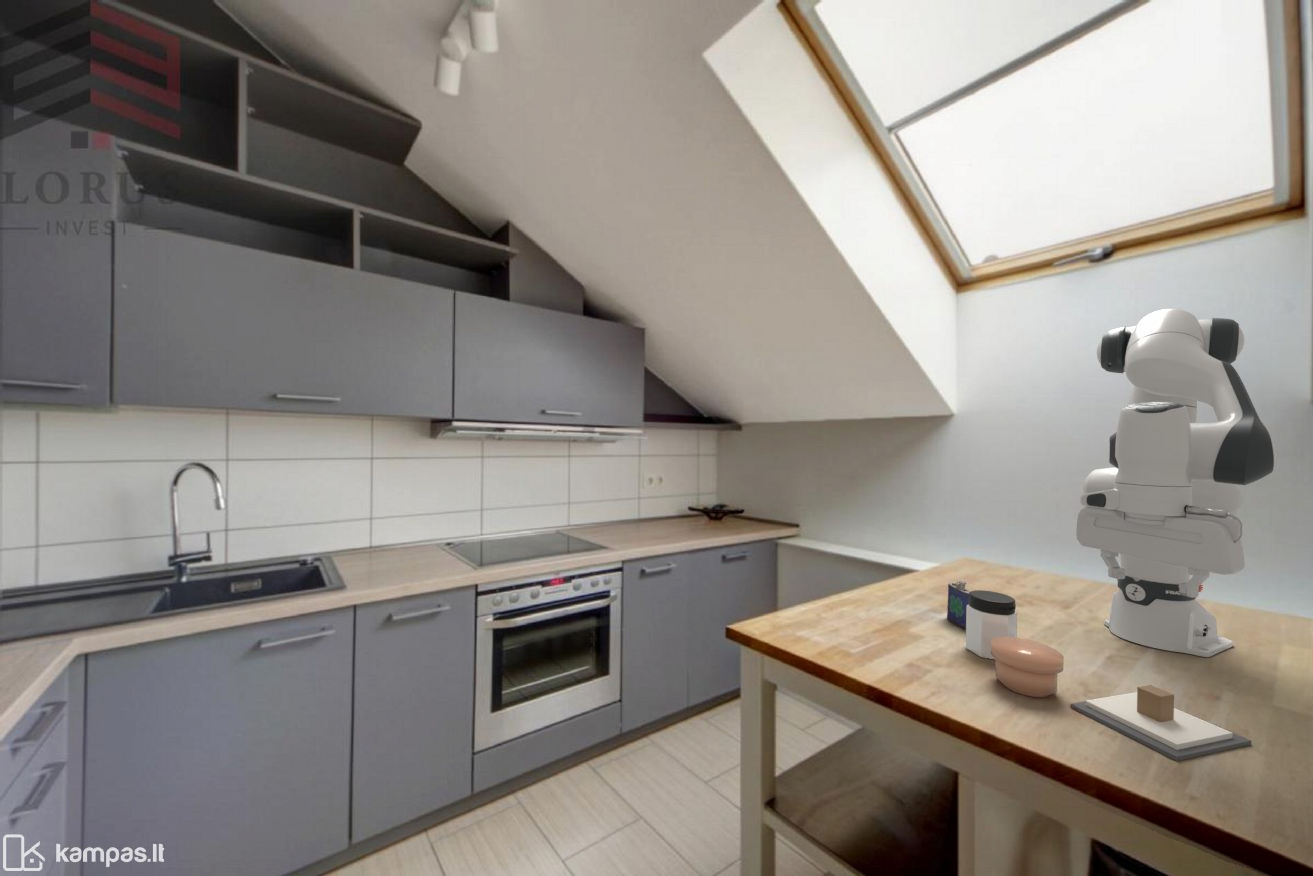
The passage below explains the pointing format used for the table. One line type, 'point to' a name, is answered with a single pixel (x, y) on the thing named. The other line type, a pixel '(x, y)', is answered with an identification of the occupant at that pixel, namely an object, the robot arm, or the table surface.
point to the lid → (1159, 718)
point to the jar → (989, 620)
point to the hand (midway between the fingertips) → (1150, 586)
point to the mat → (1159, 746)
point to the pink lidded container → (1026, 666)
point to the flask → (957, 603)
